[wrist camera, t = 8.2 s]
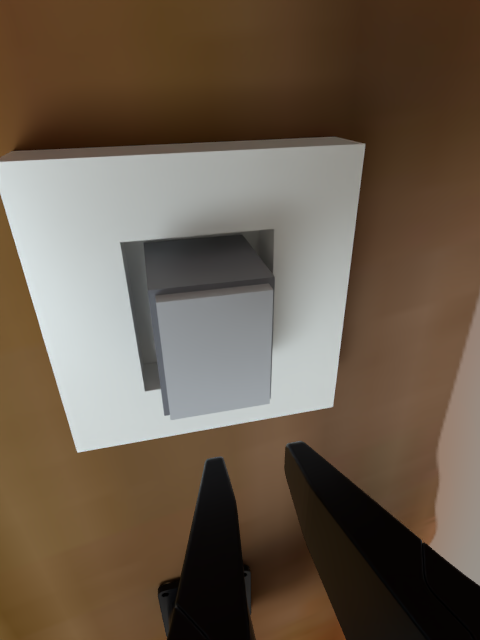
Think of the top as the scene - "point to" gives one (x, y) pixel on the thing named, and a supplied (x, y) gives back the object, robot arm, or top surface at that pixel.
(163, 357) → the plug
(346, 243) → the socket plate
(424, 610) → the robot arm
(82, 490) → the top surface
